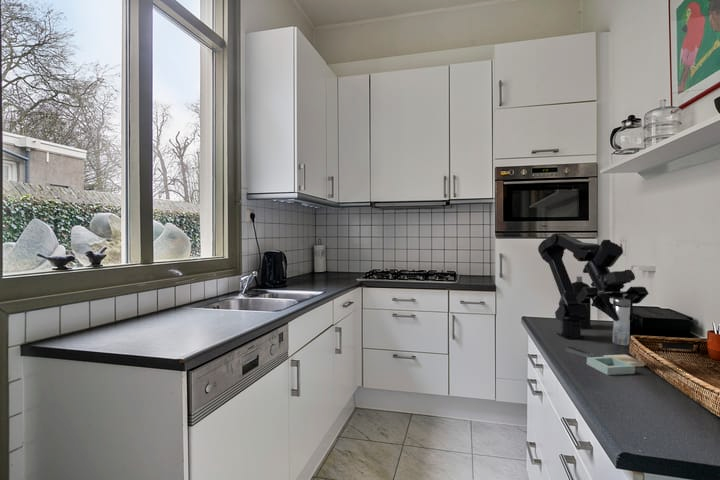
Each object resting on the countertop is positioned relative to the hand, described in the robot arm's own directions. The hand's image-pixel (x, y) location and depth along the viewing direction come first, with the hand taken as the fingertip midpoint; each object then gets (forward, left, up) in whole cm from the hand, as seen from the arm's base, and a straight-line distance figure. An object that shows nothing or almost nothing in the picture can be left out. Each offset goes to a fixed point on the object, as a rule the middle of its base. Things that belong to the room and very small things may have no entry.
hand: (624, 320), depth 108 cm
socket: (+2, -6, -13) cm, 15 cm away
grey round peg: (-1, 0, -7) cm, 7 cm away
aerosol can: (-40, +15, -13) cm, 45 cm away
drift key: (-10, -7, -13) cm, 18 cm away
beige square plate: (-2, +1, -13) cm, 13 cm away
